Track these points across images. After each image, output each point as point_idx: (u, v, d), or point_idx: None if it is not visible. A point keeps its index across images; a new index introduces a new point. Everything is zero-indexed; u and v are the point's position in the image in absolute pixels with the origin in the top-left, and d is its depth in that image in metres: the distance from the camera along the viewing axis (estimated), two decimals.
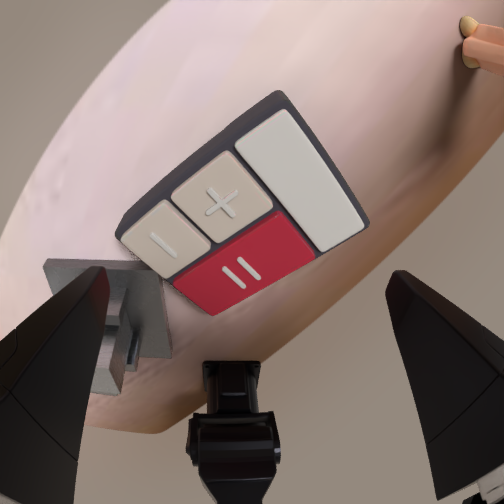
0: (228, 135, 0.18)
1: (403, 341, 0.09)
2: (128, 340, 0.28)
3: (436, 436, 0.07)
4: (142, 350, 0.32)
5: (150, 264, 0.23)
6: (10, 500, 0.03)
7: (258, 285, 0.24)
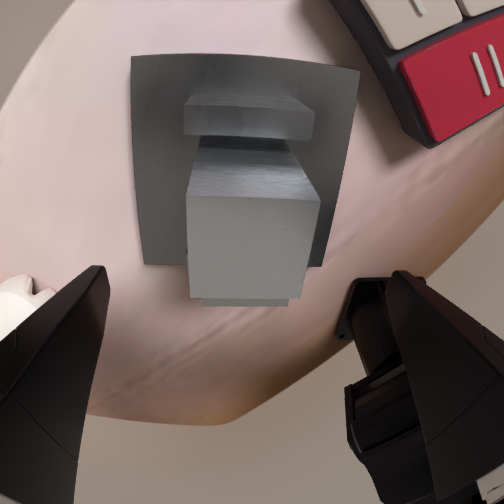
0: None
1: (403, 341, 0.09)
2: None
3: (436, 436, 0.07)
4: None
5: (380, 16, 0.10)
6: (10, 500, 0.03)
7: (498, 98, 0.12)
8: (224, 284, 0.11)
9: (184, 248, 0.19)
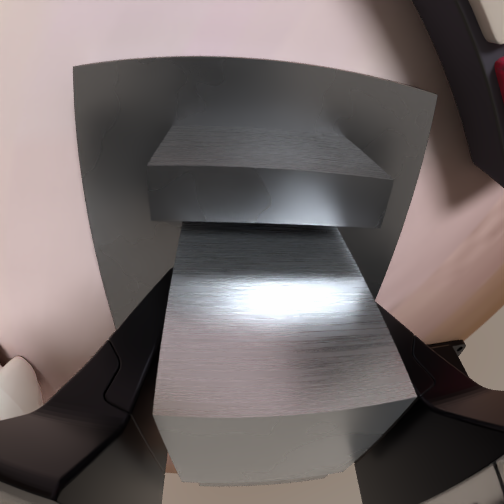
0: None
1: None
2: None
3: (362, 455, 0.07)
4: None
5: None
6: None
7: None
8: (233, 476, 0.06)
9: None
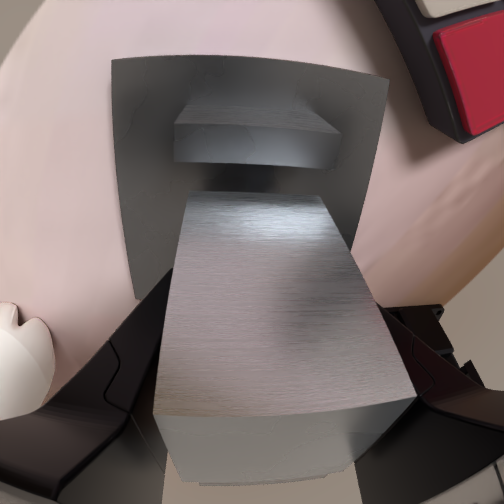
0: None
1: None
2: None
3: (362, 455, 0.07)
4: None
5: None
6: None
7: None
8: (233, 476, 0.06)
9: None
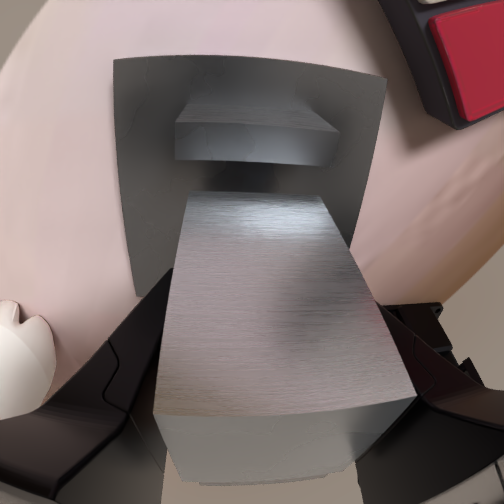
0: None
1: None
2: None
3: (363, 455, 0.07)
4: None
5: None
6: None
7: None
8: (234, 475, 0.06)
9: None
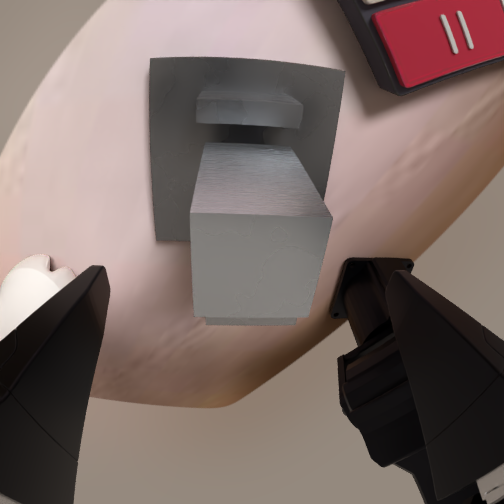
0: None
1: (403, 341, 0.09)
2: None
3: (436, 436, 0.07)
4: None
5: None
6: (10, 500, 0.03)
7: (467, 58, 0.13)
8: (230, 303, 0.11)
9: None
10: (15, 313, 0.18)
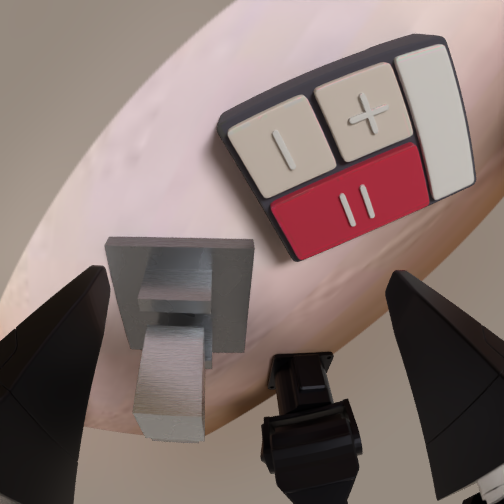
0: (386, 49, 0.14)
1: (403, 341, 0.09)
2: (204, 370, 0.23)
3: (435, 436, 0.07)
4: (212, 345, 0.29)
5: (254, 174, 0.18)
6: (10, 500, 0.03)
7: (367, 226, 0.20)
8: (161, 435, 0.18)
9: None
10: None
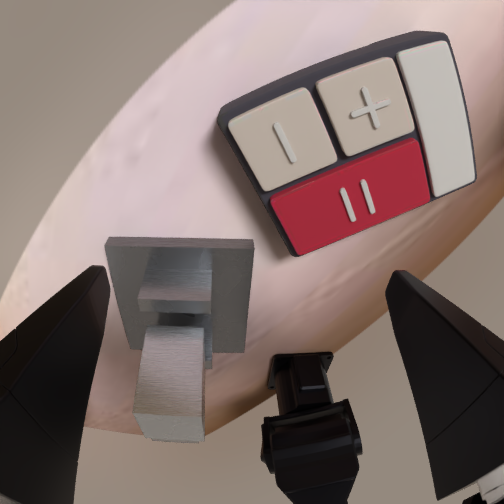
0: (389, 45, 0.14)
1: (403, 341, 0.09)
2: (204, 370, 0.23)
3: (436, 436, 0.07)
4: (212, 345, 0.29)
5: (254, 166, 0.18)
6: (10, 500, 0.03)
7: (367, 221, 0.20)
8: (161, 435, 0.18)
9: None
10: None
